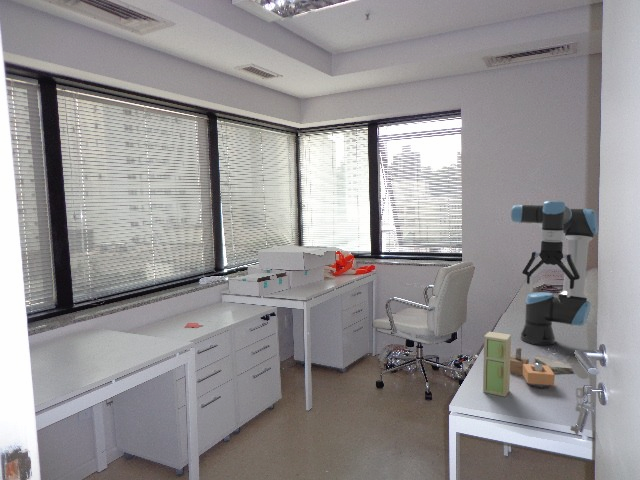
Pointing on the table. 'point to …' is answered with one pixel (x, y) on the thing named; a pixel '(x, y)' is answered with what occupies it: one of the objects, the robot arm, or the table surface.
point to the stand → (517, 362)
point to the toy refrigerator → (496, 363)
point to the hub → (538, 368)
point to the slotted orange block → (538, 375)
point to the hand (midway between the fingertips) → (549, 294)
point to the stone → (554, 365)
